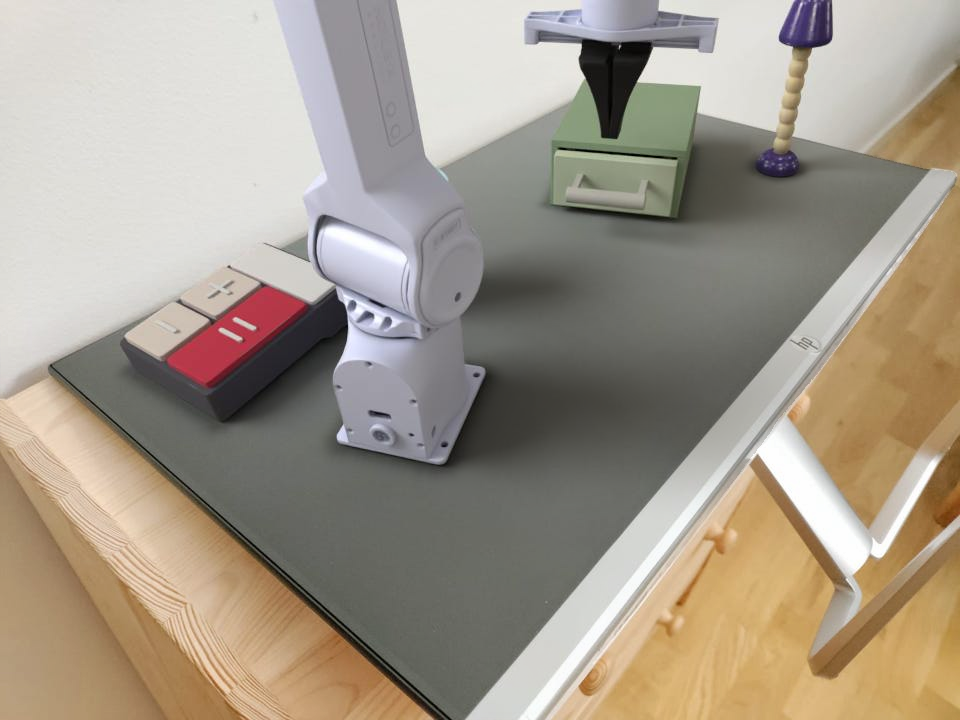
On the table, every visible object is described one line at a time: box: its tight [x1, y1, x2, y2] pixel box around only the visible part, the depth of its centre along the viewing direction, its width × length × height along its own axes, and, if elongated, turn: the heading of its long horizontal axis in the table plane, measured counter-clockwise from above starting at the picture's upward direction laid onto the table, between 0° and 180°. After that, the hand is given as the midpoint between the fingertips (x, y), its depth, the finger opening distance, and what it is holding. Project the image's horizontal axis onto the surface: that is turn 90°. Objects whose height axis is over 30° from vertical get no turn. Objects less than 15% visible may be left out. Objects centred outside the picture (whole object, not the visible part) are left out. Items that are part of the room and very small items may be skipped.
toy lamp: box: [755, 0, 834, 177], centre depth 69 cm, size 5×5×17 cm
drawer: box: [554, 148, 678, 218], centre depth 70 cm, size 19×11×5 cm, turn 162°
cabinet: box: [550, 78, 702, 219], centre depth 73 cm, size 15×12×7 cm
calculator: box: [119, 242, 348, 422], centre depth 56 cm, size 11×4×15 cm
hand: (611, 133), depth 60 cm, fingers closed
